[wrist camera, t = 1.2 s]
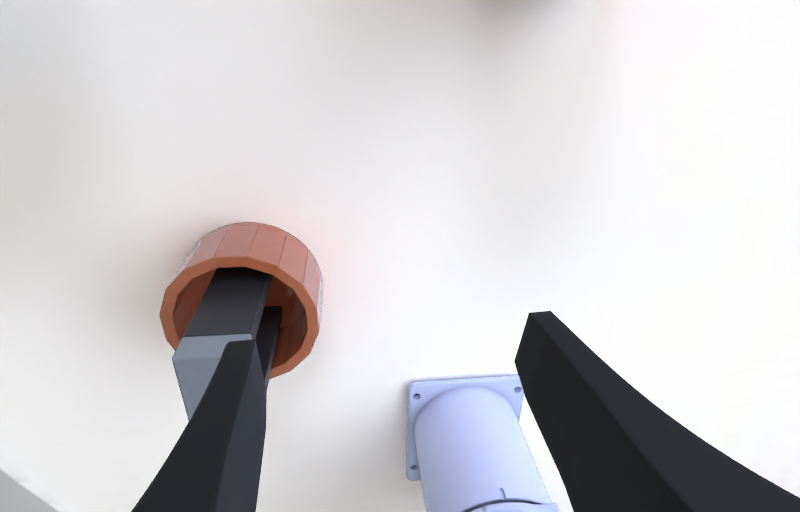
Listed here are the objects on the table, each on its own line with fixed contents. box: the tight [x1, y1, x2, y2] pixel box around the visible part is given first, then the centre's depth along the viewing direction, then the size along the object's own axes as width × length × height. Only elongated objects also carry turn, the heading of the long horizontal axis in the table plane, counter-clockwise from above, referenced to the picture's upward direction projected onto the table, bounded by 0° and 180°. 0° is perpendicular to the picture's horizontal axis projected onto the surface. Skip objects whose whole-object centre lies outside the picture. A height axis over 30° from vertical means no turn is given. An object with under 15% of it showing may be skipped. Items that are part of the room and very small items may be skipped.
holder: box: [160, 223, 322, 379], centre depth 25 cm, size 8×8×4 cm
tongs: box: [172, 267, 283, 421], centre depth 23 cm, size 4×3×9 cm
